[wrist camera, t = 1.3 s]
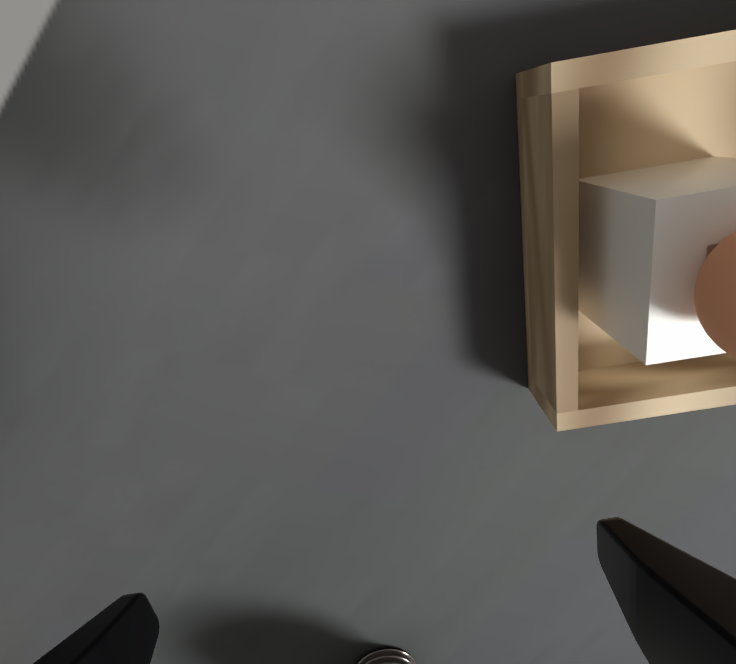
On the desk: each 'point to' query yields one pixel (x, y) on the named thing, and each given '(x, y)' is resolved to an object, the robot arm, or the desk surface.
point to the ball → (718, 295)
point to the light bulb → (387, 657)
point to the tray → (561, 214)
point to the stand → (653, 252)
